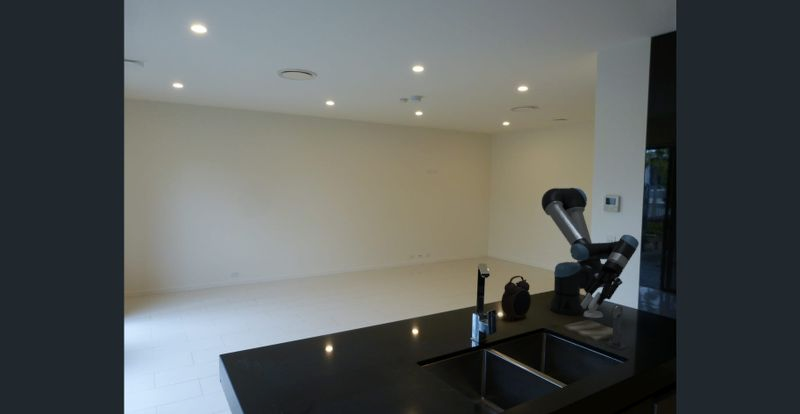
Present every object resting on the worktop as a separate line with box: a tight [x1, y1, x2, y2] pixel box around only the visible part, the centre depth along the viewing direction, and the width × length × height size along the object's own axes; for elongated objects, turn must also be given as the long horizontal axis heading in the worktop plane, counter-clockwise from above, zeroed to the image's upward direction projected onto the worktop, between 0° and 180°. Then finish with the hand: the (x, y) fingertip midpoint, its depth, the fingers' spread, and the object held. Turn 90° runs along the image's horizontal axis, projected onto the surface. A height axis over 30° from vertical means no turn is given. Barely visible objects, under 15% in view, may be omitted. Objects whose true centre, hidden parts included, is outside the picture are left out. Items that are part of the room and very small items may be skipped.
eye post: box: [605, 304, 628, 350], centre depth 157 cm, size 6×5×16 cm
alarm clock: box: [501, 275, 532, 322], centre depth 188 cm, size 14×7×20 cm, turn 123°
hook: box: [582, 291, 604, 319], centre depth 171 cm, size 8×12×7 cm
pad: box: [562, 319, 623, 342], centre depth 173 cm, size 16×16×1 cm
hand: (587, 308), depth 170 cm, fingers closed on hook, 4 cm apart
